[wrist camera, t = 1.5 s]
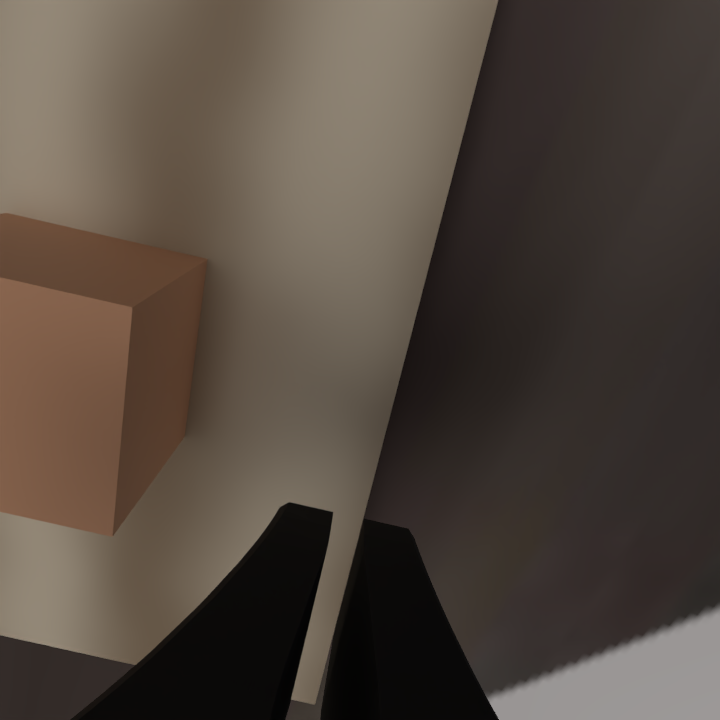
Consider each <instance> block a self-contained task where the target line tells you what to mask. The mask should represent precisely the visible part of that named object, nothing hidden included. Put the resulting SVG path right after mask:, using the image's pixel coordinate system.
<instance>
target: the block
mask: <svg viewBox="0 0 720 720" xmlns="http://www.w3.org/2000/svg"><path fill="white" fill-rule="evenodd" d="M207 260H208V259H206V258H201V257H197V256H193V255H188V254H184V253H180V252H175V251H171V250H167V249H162V248H158V247H153V246H149V245H145V244H140V243H136V242H132V241H127V240H123V239H119V238H114V237H110V236H105V235H101V234H97V233H92V232H88V231H84V230H79V229H75V228H71V227H66V226H62V225H57V224H53V223H49V222H44V221H40V220H36V219H31V218H27V217H23V216H18V215H14V214H9V213H3V214H0V512H3V513H8V514H12V515H17V516H21V517H26V518H30V519H35V520H39V521H43V522H48V523H52V524H57V525H61V526H66V527H70V528H75V529H79V530H84V531H88V532H93V533H97V534H102V535H106V536H111V537H113V536H114V534H115V533H116V531H117V530H118V529H119V527H120V526H121V524H122V523H123V522H124V520H125V519H126V517H127V516H128V515H129V513H130V512H131V511H132V509H133V508H134V506H135V505H136V504H137V502H138V501H139V499H140V498H141V497H142V495H143V494H144V492H145V491H146V490H147V488H148V487H149V486H150V484H151V483H152V481H153V480H154V479H155V477H156V476H157V474H158V473H159V472H160V470H161V469H162V468H163V466H164V465H165V463H166V462H167V461H168V459H169V458H170V456H171V455H172V454H173V452H174V451H175V449H176V448H177V447H178V445H179V444H180V443H181V441H182V440H183V438H184V437H185V430H186V422H187V415H188V407H189V399H190V391H191V384H192V376H193V368H194V360H195V353H196V345H197V337H198V329H199V322H200V314H201V306H202V298H203V291H204V283H205V275H206V267H207Z"/></svg>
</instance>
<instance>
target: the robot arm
mask: <svg viewBox="0 0 720 720" xmlns="http://www.w3.org/2000/svg"><path fill="white" fill-rule="evenodd" d="M332 518H333V512H331V511H327V510H322V509H318V508H313V507H309V506H305V505H300V504H296V503H291V502H288V503H287V504H285V505H283V506H281V507H279V509H278V511H277V512H276V514H275V516H274V517H273V519H272V520H271V522H270V523H269V525H268V526H267V528H266V529H265V530H264V532H263V533H262V534H261V536H260V537H259V538H258V540H257V541H256V542H255V543H254V545H253V546H252V547H251V548H250V549H249V551H248V552H247V553H246V554H245V555H244V557H243V558H242V559H241V560H240V561H239V563H238V564H237V565H236V566H235V567H234V568H233V569H232V570H231V571H230V572H229V573H228V575H227V576H226V577H225V578H224V579H223V580H222V581H221V582H220V583H219V584H218V585H217V587H216V588H215V589H214V590H213V591H212V592H211V593H210V594H209V595H208V596H207V597H206V598H205V599H204V601H203V602H202V603H201V604H200V605H199V606H198V607H197V608H196V609H195V610H194V611H193V612H191V613H190V614H189V615H188V616H187V617H186V618H185V619H184V620H183V621H182V622H181V623H180V624H179V625H178V626H177V627H176V628H175V629H174V630H173V631H172V632H171V633H170V634H169V635H167V636H166V637H165V638H164V639H163V640H162V641H161V642H160V643H159V644H158V645H157V646H156V647H155V648H154V649H153V650H152V651H151V652H150V653H149V654H147V655H146V656H145V657H144V658H143V659H142V660H141V661H140V662H138V663H137V664H136V665H135V666H134V667H133V668H132V669H131V670H129V671H128V672H127V673H126V674H125V675H124V676H123V677H121V678H120V679H119V680H118V681H117V682H116V683H114V684H113V685H112V686H111V687H110V688H109V689H107V690H106V691H105V692H104V693H103V694H101V695H100V696H99V697H98V698H96V699H95V700H94V701H93V702H92V703H90V704H89V705H88V706H87V707H85V708H84V709H83V710H82V711H81V712H79V713H78V714H77V715H76V716H74V717H73V718H72V719H71V720H285V719H286V715H287V712H288V709H289V705H290V701H291V697H292V693H293V689H294V685H295V681H296V676H297V672H298V668H299V664H300V660H301V656H302V652H303V647H304V643H305V639H306V635H307V631H308V627H309V622H310V618H311V614H312V610H313V606H314V602H315V597H316V593H317V589H318V585H319V581H320V577H321V572H322V568H323V564H324V560H325V556H326V552H327V548H328V543H329V537H330V531H331V525H332ZM321 720H499V719H498V717H497V716H496V714H495V712H494V710H493V708H492V707H491V705H490V703H489V701H488V699H487V698H486V696H485V694H484V692H483V690H482V688H481V686H480V684H479V682H478V680H477V678H476V677H475V675H474V673H473V671H472V669H471V667H470V665H469V663H468V661H467V659H466V657H465V655H464V652H463V650H462V648H461V646H460V644H459V642H458V640H457V638H456V636H455V634H454V632H453V630H452V628H451V626H450V624H449V622H448V619H447V617H446V615H445V613H444V611H443V608H442V606H441V604H440V602H439V599H438V597H437V595H436V592H435V590H434V588H433V585H432V583H431V581H430V578H429V576H428V573H427V571H426V568H425V566H424V563H423V561H422V558H421V555H420V553H419V550H418V547H417V545H416V542H415V539H414V537H413V535H412V534H411V532H410V531H409V529H407V528H402V527H398V526H394V525H389V524H385V523H380V522H376V521H371V520H367V519H364V521H363V525H362V529H361V532H360V536H359V540H358V544H357V548H356V552H355V555H354V559H353V563H352V567H351V571H350V575H349V578H348V582H347V586H346V590H345V594H344V598H343V601H342V605H341V609H340V613H339V617H338V621H337V624H336V628H335V632H334V636H333V642H332V648H331V654H330V660H329V666H328V672H327V678H326V684H325V690H324V696H323V702H322V709H321Z"/></svg>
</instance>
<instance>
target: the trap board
mask: <svg viewBox="0 0 720 720" xmlns="http://www.w3.org/2000/svg"><path fill="white" fill-rule="evenodd" d="M497 3H498V0H0V214H3V213H9V214H14V215H18V216H23V217H27V218H31V219H36V220H40V221H44V222H49V223H53V224H57V225H62V226H66V227H71V228H75V229H79V230H84V231H88V232H92V233H97V234H101V235H105V236H110V237H114V238H119V239H123V240H127V241H132V242H136V243H140V244H145V245H149V246H153V247H158V248H162V249H167V250H171V251H175V252H180V253H184V254H188V255H193V256H197V257H201V258H206V259H208V260H207V267H206V275H205V283H204V291H203V298H202V306H201V314H200V322H199V329H198V337H197V345H196V353H195V360H194V368H193V376H192V384H191V391H190V399H189V407H188V415H187V422H186V430H185V437H184V438H183V440H182V441H181V443H180V444H179V445H178V447H177V448H176V449H175V451H174V452H173V454H172V455H171V456H170V458H169V459H168V461H167V462H166V463H165V465H164V466H163V468H162V469H161V470H160V472H159V473H158V474H157V476H156V477H155V479H154V480H153V481H152V483H151V484H150V486H149V487H148V488H147V490H146V491H145V492H144V494H143V495H142V497H141V498H140V499H139V501H138V502H137V504H136V505H135V506H134V508H133V509H132V511H131V512H130V513H129V515H128V516H127V517H126V519H125V520H124V522H123V523H122V524H121V526H120V527H119V529H118V530H117V531H116V533H115V534H114V536H113V537H111V536H106V535H102V534H97V533H93V532H88V531H84V530H79V529H75V528H70V527H66V526H61V525H57V524H52V523H48V522H43V521H39V520H35V519H30V518H26V517H21V516H17V515H12V514H8V513H3V512H0V635H2V636H7V637H11V638H16V639H20V640H25V641H29V642H34V643H38V644H43V645H47V646H52V647H56V648H61V649H65V650H70V651H74V652H79V653H84V654H88V655H93V656H97V657H102V658H106V659H111V660H115V661H120V662H124V663H129V664H133V665H136V664H137V663H138V662H140V661H141V660H142V659H143V658H144V657H145V656H146V655H147V654H149V653H150V652H151V651H152V650H153V649H154V648H155V647H156V646H157V645H158V644H159V643H160V642H161V641H162V640H163V639H164V638H165V637H166V636H167V635H169V634H170V633H171V632H172V631H173V630H174V629H175V628H176V627H177V626H178V625H179V624H180V623H181V622H182V621H183V620H184V619H185V618H186V617H187V616H188V615H189V614H190V613H191V612H193V611H194V610H195V609H196V608H197V607H198V606H199V605H200V604H201V603H202V602H203V601H204V599H205V598H206V597H207V596H208V595H209V594H210V593H211V592H212V591H213V590H214V589H215V588H216V587H217V585H218V584H219V583H220V582H221V581H222V580H223V579H224V578H225V577H226V576H227V575H228V573H229V572H230V571H231V570H232V569H233V568H234V567H235V566H236V565H237V564H238V563H239V561H240V560H241V559H242V558H243V557H244V555H245V554H246V553H247V552H248V551H249V549H250V548H251V547H252V546H253V545H254V543H255V542H256V541H257V540H258V538H259V537H260V536H261V534H262V533H263V532H264V530H265V529H266V528H267V526H268V525H269V523H270V522H271V520H272V519H273V517H274V516H275V514H276V512H277V511H278V509H279V507H281V506H283V505H285V504H287V503H288V502H291V503H296V504H300V505H305V506H309V507H313V508H318V509H322V510H327V511H331V512H333V518H332V525H331V531H330V537H329V543H328V548H327V552H326V556H325V560H324V564H323V568H322V572H321V577H320V581H319V585H318V589H317V593H316V597H315V602H314V606H313V610H312V614H311V618H310V622H309V627H308V631H307V635H306V639H305V643H304V647H303V652H302V656H301V660H300V664H299V668H298V672H297V676H296V681H295V685H294V689H293V693H292V697H291V699H292V700H296V701H301V702H305V703H310V704H314V705H315V702H316V698H317V694H318V690H319V687H320V683H321V679H322V675H323V671H324V667H325V664H326V660H327V656H328V652H329V648H330V644H331V641H332V637H333V633H334V629H335V625H336V621H337V617H338V614H339V610H340V606H341V602H342V598H343V594H344V591H345V587H346V583H347V579H348V575H349V571H350V568H351V564H352V560H353V556H354V552H355V548H356V545H357V541H358V537H359V533H360V529H361V525H362V521H363V518H364V514H365V510H366V506H367V502H368V498H369V495H370V491H371V487H372V483H373V479H374V475H375V472H376V468H377V464H378V460H379V456H380V452H381V449H382V445H383V441H384V437H385V433H386V429H387V425H388V422H389V418H390V414H391V410H392V406H393V402H394V399H395V395H396V391H397V387H398V383H399V379H400V376H401V372H402V368H403V364H404V360H405V356H406V353H407V349H408V345H409V341H410V337H411V333H412V329H413V326H414V322H415V318H416V314H417V310H418V306H419V303H420V299H421V295H422V291H423V287H424V283H425V280H426V276H427V272H428V268H429V264H430V260H431V257H432V253H433V249H434V245H435V241H436V237H437V233H438V230H439V226H440V222H441V218H442V214H443V210H444V207H445V203H446V199H447V195H448V191H449V187H450V184H451V180H452V176H453V172H454V168H455V164H456V161H457V157H458V153H459V149H460V145H461V141H462V137H463V134H464V130H465V126H466V122H467V118H468V114H469V111H470V107H471V103H472V99H473V95H474V91H475V88H476V84H477V80H478V76H479V72H480V68H481V65H482V61H483V57H484V53H485V49H486V45H487V41H488V38H489V34H490V30H491V26H492V22H493V18H494V15H495V11H496V7H497Z"/></svg>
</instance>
